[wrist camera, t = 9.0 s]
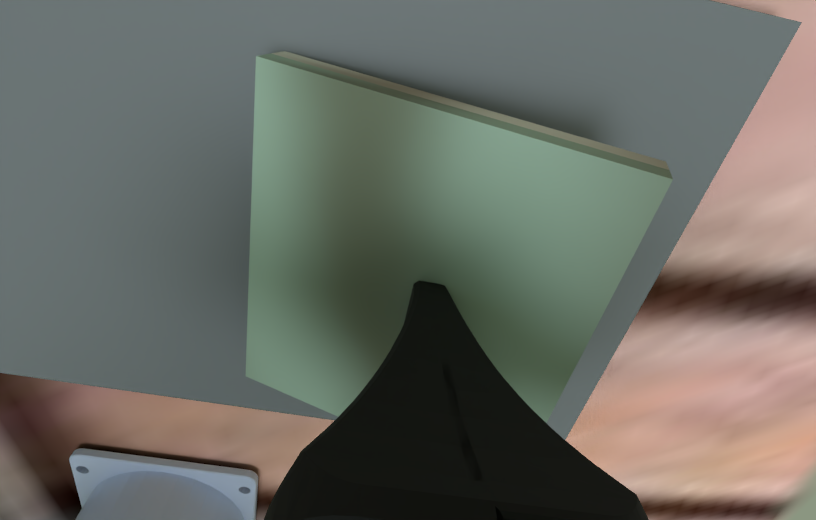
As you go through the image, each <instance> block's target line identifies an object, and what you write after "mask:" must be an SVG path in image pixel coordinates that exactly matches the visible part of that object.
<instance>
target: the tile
mask: <svg viewBox="0 0 816 520" xmlns="http://www.w3.org/2000/svg"><path fill="white" fill-rule="evenodd" d="M672 181H673V178H672V175H671V173H670V170H669V168H668V165H667V163H666V161H662V160H659V159H655V158H652V157H648V156H645V155H641V154H638V153H635V152H631V151H628V150H624V149H621V148H617V147H614V146H610V145H607V144H603V143H600V142H597V141H593V140H590V139H586V138H583V137H579V136H576V135H572V134H569V133H566V132H562V131H559V130H555V129H552V128H548V127H545V126H541V125H538V124H535V123H531V122H528V121H524V120H521V119H517V118H514V117H510V116H507V115H504V114H500V113H497V112H493V111H490V110H486V109H483V108H479V107H476V106H473V105H469V104H466V103H462V102H459V101H455V100H452V99H448V98H445V97H442V96H438V95H435V94H431V93H428V92H424V91H421V90H417V89H414V88H411V87H407V86H404V85H400V84H397V83H393V82H390V81H386V80H383V79H380V78H376V77H373V76H369V75H366V74H362V73H359V72H355V71H352V70H348V69H345V68H342V67H338V66H335V65H331V64H328V63H324V62H321V61H317V60H314V59H311V58H307V57H304V56H300V55H297V54H293V53H290V52H286V51H283V52H277V53H271V54H265V55H259V56H256V71H255V102H254V132H253V163H252V194H251V224H250V255H249V286H248V316H247V347H246V377H249V378H251V379H253V380H255V381H258V382H260V383H262V384H265V385H267V386H269V387H271V388H274V389H276V390H278V391H281V392H283V393H285V394H287V395H290V396H292V397H294V398H297V399H299V400H301V401H303V402H306V403H308V404H310V405H313V406H315V407H317V408H319V409H322V410H324V411H326V412H328V413H331V414H333V415H335V416H338V417H339V416H340V415H341V413H342V412H343V411H344V410H345V409H346V408H347V407H348V406H349V405H350V404H351V403H352V402H353V401H354V399H355V398H356V397H357V396H358V395H359V394H360V392H361V391H362V390H363V389H364V387H365V386H366V385H367V383H368V382H369V381H370V380H371V378H372V377H373V376H374V374H375V373H376V371H377V370H378V368H379V367H380V366H381V364H382V363H383V361H384V359H385V358H386V356H387V355H388V353H389V351H390V350H391V348H392V346H393V344H394V342H395V341H396V339H397V337H398V335H399V333H400V331H401V329H402V327H403V325H404V321H405V317H406V313H407V309H408V305H409V301H410V297H411V293H412V289H413V285H414V283H416V282H417V281H425V282H431V283H437V284H441V285H445V287H446V288H447V290H448V291H449V293H450V295H451V297H452V299H453V301H454V303H455V304H456V306H457V308H458V310H459V312H460V314H461V315H462V317H463V319H464V321H465V322H466V324H467V326H468V327H469V329H470V330H471V332H472V334H473V335H474V337H475V338H476V340H477V342H478V343H479V345H480V346H481V348H482V349H483V351H484V352H485V354H486V355H487V356H488V358H489V359H490V361H491V362H492V363H493V365H494V366H495V367H496V369H497V370H498V371H499V373H500V374H501V375H502V376H503V378H504V379H505V380H506V381H507V382H508V383H509V385H510V386H511V387H512V388H513V389H514V390H515V391H516V393H517V394H518V395H519V396H520V397H521V398H522V399H523V400H524V401H525V402H526V404H527V405H528V406H529V407H530V408H531V409H532V410H533V411H534V412H535V413H536V414H537V415H538V416H539V417H540V418H542V419H543V420H544V421H545V422H546V423H547V421H548V419H549V417H550V415H551V413H552V411H553V409H554V407H555V405H556V404H557V402H558V400H559V398H560V396H561V394H562V392H563V390H564V388H565V386H566V384H567V382H568V381H569V379H570V377H571V375H572V373H573V371H574V369H575V367H576V365H577V363H578V361H579V359H580V357H581V356H582V354H583V352H584V350H585V348H586V346H587V344H588V342H589V340H590V338H591V336H592V334H593V332H594V331H595V329H596V327H597V325H598V323H599V321H600V319H601V317H602V315H603V313H604V311H605V309H606V308H607V306H608V304H609V302H610V300H611V298H612V296H613V294H614V292H615V290H616V288H617V286H618V284H619V283H620V281H621V279H622V277H623V275H624V273H625V271H626V269H627V267H628V265H629V263H630V261H631V259H632V258H633V256H634V254H635V252H636V250H637V248H638V246H639V244H640V242H641V240H642V238H643V236H644V235H645V233H646V231H647V229H648V227H649V225H650V223H651V221H652V219H653V217H654V215H655V213H656V211H657V210H658V208H659V206H660V204H661V202H662V200H663V198H664V196H665V194H666V192H667V190H668V188H669V187H670V185H671V183H672Z"/></svg>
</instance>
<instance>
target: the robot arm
mask: <svg viewBox="0 0 816 520" xmlns="http://www.w3.org/2000/svg"><path fill="white" fill-rule="evenodd" d="M69 461H70V465H71V469H72V472H73V476H74V480H75V484H76V487H77V491H78V495H79V499H80V502H81V506H82V509H81V511H80V513H79V514H78V516H77V518H76V519H75V520H256V508H257V491H258V475H257V474H256V473H255V472H253V471H251V470H247V469H239V468H231V467H224V466H216V465H208V464H201V463H193V462H185V461H178V460H170V459H162V458H155V457H147V456H139V455H132V454H124V453H116V452H109V451H101V450H93V449H86V448H79V449H76V450H75V451H74V452H73V453H72V455H71V456H70V458H69ZM264 520H648V517H647V515H646V513H645V511H644V509H643V507H642V505H641V503H640V501H639V499H638V497H637V495H636V494H635V493H633V492H632V491H631V490H629V489H628V488H626V487H625V486H624V485H622V484H621V483H619V482H618V481H617V480H615V479H614V478H613V477H611V476H610V475H608V474H607V473H606V472H604V471H603V470H602V469H600V468H599V467H597V466H596V465H595V464H593V463H592V462H591V461H590V460H588V459H587V458H586V457H585V456H583V455H582V454H581V453H580V452H579V451H577V450H576V449H575V448H574V447H573V446H571V445H570V444H569V443H568V442H566V441H565V440H564V439H563V438H562V437H561V436H560V435H559V434H557V433H556V432H555V431H554V430H553V429H552V428H551V427H550V426H549V425H548V424H547V423H546V422H545V421H544V420H543V419H542V418H540V417H539V416H538V415H537V414H536V413H535V412H534V411H533V410H532V409H531V408H530V407H529V406H528V405H527V404H526V402H525V401H524V400H523V399H522V398H521V397H520V396H519V395H518V394H517V393H516V391H515V390H514V389H513V388H512V387H511V386H510V385H509V383H508V382H507V381H506V380H505V379H504V378H503V376H502V375H501V374H500V373H499V371H498V370H497V369H496V367H495V366H494V365H493V363H492V362H491V361H490V359H489V358H488V356H487V355H486V354H485V352H484V351H483V349H482V348H481V346H480V345H479V343H478V342H477V340H476V338H475V337H474V335H473V334H472V332H471V330H470V329H469V327H468V326H467V324H466V322H465V321H464V319H463V317H462V315H461V314H460V312H459V310H458V308H457V306H456V304H455V303H454V301H453V299H452V297H451V295H450V293H449V291H448V290H447V288H446V287H445V285H441V284H437V283H431V282H425V281H417V282H416V283H414V285H413V289H412V293H411V297H410V301H409V305H408V309H407V313H406V317H405V321H404V325H403V327H402V329H401V331H400V333H399V335H398V337H397V339H396V341H395V342H394V344H393V346H392V348H391V350H390V351H389V353H388V355H387V356H386V358H385V359H384V361H383V363H382V364H381V366H380V367H379V368H378V370H377V371H376V373H375V374H374V376H373V377H372V378H371V380H370V381H369V382H368V383H367V385H366V386H365V387H364V389H363V390H362V391H361V392H360V394H359V395H358V396H357V397H356V398H355V399H354V401H353V402H352V403H351V404H350V405H349V406H348V407H347V408H346V409H345V410H344V411H343V412H342V413H341V415H340V416H339V417H338V418H337V419H336V420H335V421H334V422H333V423H332V424H331V425H330V426H329V427H328V428H327V429H326V430H325V431H323V432H322V433H321V434H320V435H319V436H318V437H317V438H316V439H314V440H313V441H312V442H311V443H310V444H309V445H308V446H307V447H305V448H304V449H303V450H302V451H301V452H300V454H299V456H298V457H297V459H296V461H295V462H294V464H293V465H292V467H291V468H290V470H289V472H288V473H287V475H286V477H285V478H284V480H283V482H282V483H281V485H280V487H279V488H278V490H277V492H276V494H275V496H274V498H273V500H272V502H271V504H270V506H269V508H268V510H267V513H266V516H265V518H264Z"/></svg>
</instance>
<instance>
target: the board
mask: <svg viewBox="0 0 816 520" xmlns="http://www.w3.org/2000/svg"><path fill="white" fill-rule="evenodd" d="M801 23H802V22H798V21H794V20H789V19H785V18H781V17H777V16H773V15H769V14H764V13H760V12H756V11H752V10H748V9H744V8H739V7H735V6H731V5H727V4H723V3H719V2H714V1H710V0H0V373H6V374H13V375H20V376H27V377H34V378H41V379H48V380H55V381H62V382H69V383H76V384H83V385H90V386H97V387H104V388H112V389H119V390H126V391H133V392H140V393H147V394H154V395H161V396H168V397H175V398H182V399H189V400H196V401H203V402H210V403H217V404H224V405H231V406H238V407H245V408H252V409H259V410H266V411H273V412H280V413H287V414H294V415H302V416H309V417H316V418H323V419H330V420H336V419H337V418H338V416H335V415H333V414H331V413H328V412H326V411H324V410H322V409H319V408H317V407H315V406H313V405H310V404H308V403H306V402H303V401H301V400H299V399H297V398H294V397H292V396H290V395H287V394H285V393H283V392H281V391H278V390H276V389H274V388H271V387H269V386H267V385H265V384H262V383H260V382H258V381H255V380H253V379H251V378H249V377H246V347H247V316H248V286H249V255H250V224H251V194H252V163H253V132H254V102H255V71H256V56H259V55H265V54H271V53H277V52H283V51H286V52H290V53H293V54H297V55H300V56H304V57H307V58H311V59H314V60H317V61H321V62H324V63H328V64H331V65H335V66H338V67H342V68H345V69H348V70H352V71H355V72H359V73H362V74H366V75H369V76H373V77H376V78H380V79H383V80H386V81H390V82H393V83H397V84H400V85H404V86H407V87H411V88H414V89H417V90H421V91H424V92H428V93H431V94H435V95H438V96H442V97H445V98H448V99H452V100H455V101H459V102H462V103H466V104H469V105H473V106H476V107H479V108H483V109H486V110H490V111H493V112H497V113H500V114H504V115H507V116H510V117H514V118H517V119H521V120H524V121H528V122H531V123H535V124H538V125H541V126H545V127H548V128H552V129H555V130H559V131H562V132H566V133H569V134H572V135H576V136H579V137H583V138H586V139H590V140H593V141H597V142H600V143H603V144H607V145H610V146H614V147H617V148H621V149H624V150H628V151H631V152H635V153H638V154H641V155H645V156H648V157H652V158H655V159H659V160H662V161H666V163H667V165H668V168H669V170H670V173H671V175H672V178H673V181H672V183H671V185H670V187H669V188H668V190H667V192H666V194H665V196H664V198H663V200H662V202H661V204H660V206H659V208H658V210H657V211H656V213H655V215H654V217H653V219H652V221H651V223H650V225H649V227H648V229H647V231H646V233H645V235H644V236H643V238H642V240H641V242H640V244H639V246H638V248H637V250H636V252H635V254H634V256H633V258H632V259H631V261H630V263H629V265H628V267H627V269H626V271H625V273H624V275H623V277H622V279H621V281H620V283H619V284H618V286H617V288H616V290H615V292H614V294H613V296H612V298H611V300H610V302H609V304H608V306H607V308H606V309H605V311H604V313H603V315H602V317H601V319H600V321H599V323H598V325H597V327H596V329H595V331H594V332H593V334H592V336H591V338H590V340H589V342H588V344H587V346H586V348H585V350H584V352H583V354H582V356H581V357H580V359H579V361H578V363H577V365H576V367H575V369H574V371H573V373H572V375H571V377H570V379H569V381H568V382H567V384H566V386H565V388H564V390H563V392H562V394H561V396H560V398H559V400H558V402H557V404H556V405H555V407H554V409H553V411H552V413H551V415H550V417H549V419H548V421H547V424H548V425H549V426H550V427H551V428H552V429H553V430H554V431H555V432H556V433H557V434H559V435H560V436H561V437H562V438H563V439H564V440H565V439H566V438H567V436H568V434H569V432H570V431H571V429H572V427H573V425H574V424H575V422H576V420H577V418H578V416H579V415H580V413H581V411H582V409H583V408H584V406H585V404H586V402H587V401H588V399H589V397H590V395H591V393H592V392H593V390H594V388H595V386H596V385H597V383H598V381H599V379H600V378H601V376H602V374H603V372H604V371H605V369H606V367H607V365H608V363H609V362H610V360H611V358H612V356H613V355H614V353H615V351H616V349H617V348H618V346H619V344H620V342H621V341H622V339H623V337H624V335H625V333H626V332H627V330H628V328H629V326H630V325H631V323H632V321H633V319H634V318H635V316H636V314H637V312H638V311H639V309H640V307H641V305H642V303H643V302H644V300H645V298H646V296H647V295H648V293H649V291H650V289H651V288H652V286H653V284H654V282H655V281H656V279H657V277H658V275H659V273H660V272H661V270H662V268H663V266H664V265H665V263H666V261H667V259H668V258H669V256H670V254H671V252H672V251H673V249H674V247H675V245H676V243H677V242H678V240H679V238H680V236H681V235H682V233H683V231H684V229H685V228H686V226H687V224H688V222H689V220H690V219H691V217H692V215H693V213H694V212H695V210H696V208H697V206H698V205H699V203H700V201H701V199H702V198H703V196H704V194H705V192H706V190H707V189H708V187H709V185H710V183H711V182H712V180H713V178H714V176H715V175H716V173H717V171H718V169H719V168H720V166H721V164H722V162H723V160H724V159H725V157H726V155H727V153H728V152H729V150H730V148H731V146H732V145H733V143H734V141H735V139H736V138H737V136H738V134H739V132H740V130H741V129H742V127H743V125H744V123H745V122H746V120H747V118H748V116H749V115H750V113H751V111H752V109H753V108H754V106H755V104H756V102H757V100H758V99H759V97H760V95H761V93H762V92H763V90H764V88H765V86H766V85H767V83H768V81H769V79H770V77H771V76H772V74H773V72H774V70H775V69H776V67H777V65H778V63H779V62H780V60H781V58H782V56H783V55H784V53H785V51H786V49H787V47H788V46H789V44H790V42H791V40H792V39H793V37H794V35H795V33H796V32H797V30H798V28H799V26H800V25H801Z"/></svg>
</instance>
